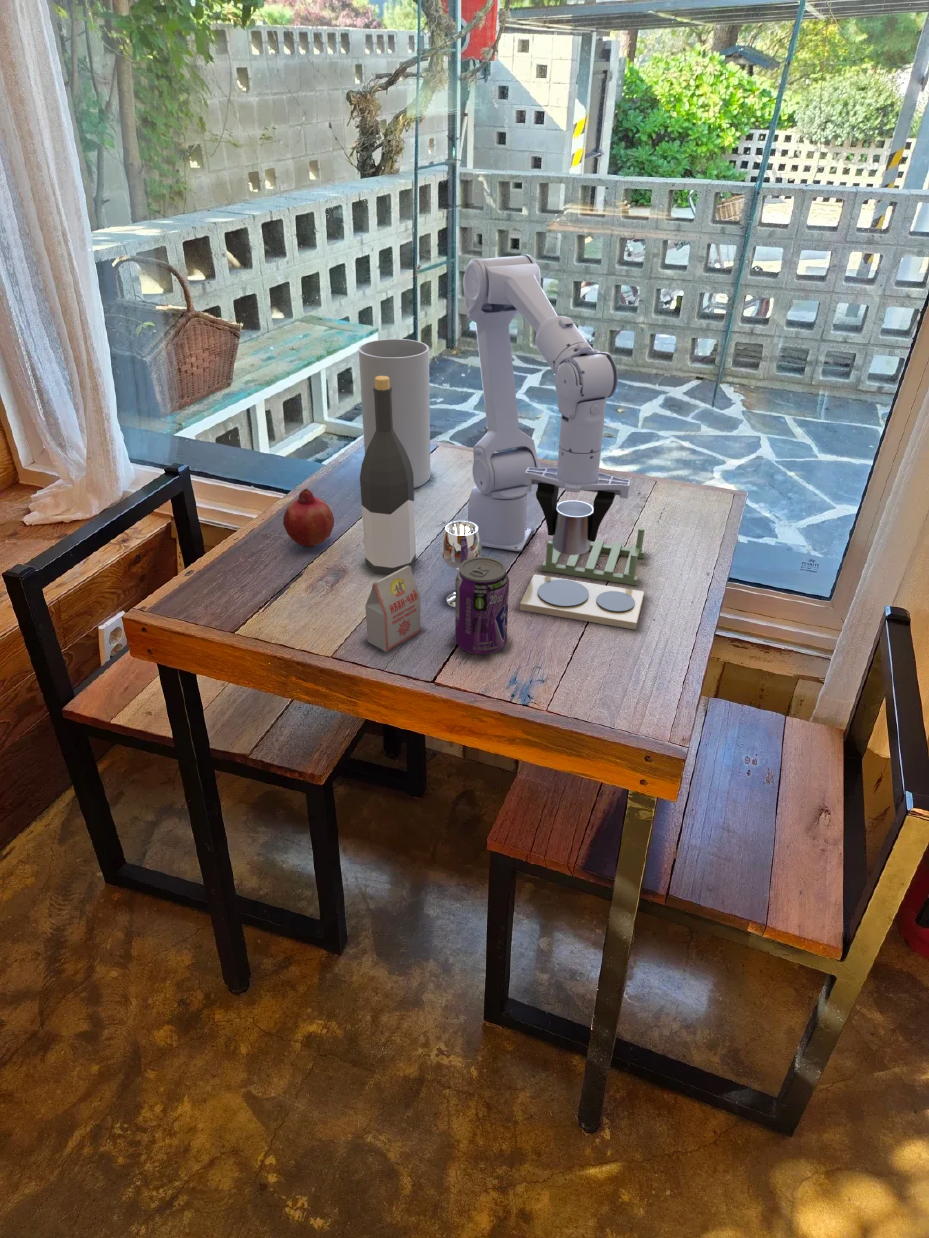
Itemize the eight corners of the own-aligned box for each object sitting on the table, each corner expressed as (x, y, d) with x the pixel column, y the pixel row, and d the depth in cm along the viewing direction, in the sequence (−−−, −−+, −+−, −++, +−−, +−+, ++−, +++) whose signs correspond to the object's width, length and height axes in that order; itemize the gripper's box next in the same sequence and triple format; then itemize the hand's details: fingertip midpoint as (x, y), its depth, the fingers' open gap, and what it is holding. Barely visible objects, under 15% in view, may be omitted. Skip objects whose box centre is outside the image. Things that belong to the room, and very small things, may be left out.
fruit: (343, 548, 136) (339, 493, 131) (297, 560, 133) (291, 504, 127) (324, 529, 142) (318, 475, 136) (279, 540, 138) (272, 485, 133)
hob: (519, 610, 121) (519, 601, 120) (533, 580, 128) (534, 572, 127) (635, 630, 117) (637, 621, 116) (643, 598, 124) (644, 589, 123)
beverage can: (489, 664, 110) (492, 587, 103) (445, 648, 113) (444, 572, 106) (515, 639, 115) (519, 564, 108) (472, 623, 118) (473, 550, 111)
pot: (548, 551, 118) (551, 513, 115) (556, 535, 123) (559, 498, 119) (586, 557, 117) (590, 519, 113) (593, 540, 121) (597, 503, 118)
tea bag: (367, 641, 114) (363, 579, 108) (402, 621, 118) (399, 560, 113) (386, 651, 112) (383, 588, 106) (420, 631, 116) (419, 569, 111)
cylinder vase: (441, 472, 163) (440, 344, 149) (412, 496, 153) (408, 361, 140) (385, 461, 167) (380, 336, 154) (354, 484, 158) (345, 352, 144)
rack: (541, 570, 131) (543, 542, 128) (554, 542, 139) (556, 515, 136) (636, 585, 127) (640, 557, 124) (644, 555, 135) (648, 528, 132)
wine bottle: (387, 547, 137) (378, 366, 120) (426, 561, 133) (422, 376, 116) (355, 566, 131) (341, 379, 115) (394, 581, 127) (385, 390, 111)
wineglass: (452, 614, 120) (452, 540, 113) (435, 595, 124) (434, 524, 118) (487, 604, 122) (489, 532, 115) (469, 586, 126) (470, 516, 120)
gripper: (520, 450, 110) (516, 540, 117) (630, 463, 106) (618, 555, 114) (532, 432, 115) (528, 519, 123) (636, 444, 112) (625, 533, 119)
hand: (572, 535), depth 119 cm, fingers closed on pot, 5 cm apart
